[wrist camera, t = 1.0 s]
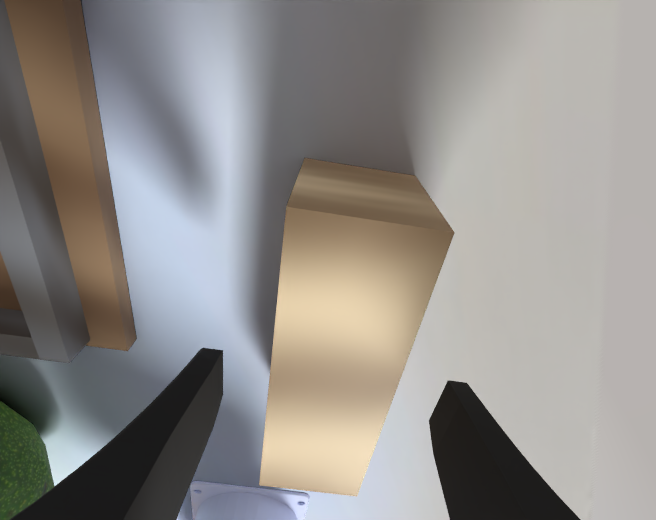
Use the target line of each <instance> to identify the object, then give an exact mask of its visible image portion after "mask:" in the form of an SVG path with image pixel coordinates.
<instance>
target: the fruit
mask: <svg viewBox="0 0 656 520" xmlns="http://www.w3.org/2000/svg"><path fill="white" fill-rule="evenodd" d="M53 487H54V483H53V478H52V474H51V469H50V465H49V460H48V455H47V451H46V446H45V444H44V442H43V440H42V439H41V437H40V435H39V434H38V432H37V430H36V429H35V427H34V425H33V424H32V423H31V422H29V421H28V420H27V419H25V418H24V417H22V416H21V415H20V414H18V413H17V412H15V411H14V410H13V409H11V408H10V407H8V406H7V405H6V404H4V403H3V402H1V401H0V520H9V519H11V518H12V517H14V516H15V515H16V514H18V513H19V512H21V511H22V510H24V509H25V508H27V507H28V506H29V505H31V504H32V503H33V502H35V501H36V500H37V499H39V498H40V497H41V496H43V495H44V494H46V493H47V492H48V491H50V490H51V489H52V488H53Z"/></svg>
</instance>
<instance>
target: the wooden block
mask: <svg viewBox="0 0 656 520" xmlns="http://www.w3.org/2000/svg"><path fill="white" fill-rule="evenodd" d="M453 235H454V231H453V230H452V228H451V227H450V225H449V224H448V222H447V221H446V220H445V218H444V217H443V215H442V214H441V212H440V211H439V209H438V208H437V206H436V205H435V204H434V202H433V201H432V199H431V198H430V196H429V195H428V193H427V192H426V190H425V189H424V188H423V186H422V185H421V183H420V182H419V180H418V179H417V177H416V176H414V175H408V174H402V173H395V172H389V171H383V170H377V169H371V168H364V167H358V166H352V165H346V164H340V163H333V162H327V161H321V160H315V159H309V158H304V161H303V164H302V166H301V169H300V171H299V174H298V177H297V179H296V182H295V185H294V187H293V190H292V193H291V195H290V198H289V201H288V203H287V206H286V214H285V224H284V235H283V245H282V255H281V265H280V276H279V286H278V296H277V307H276V317H275V327H274V338H273V348H272V358H271V368H270V379H269V389H268V399H267V410H266V420H265V430H264V441H263V451H262V461H261V471H260V482H259V485H261V486H270V487H279V488H288V489H297V490H305V491H314V492H323V493H332V494H341V495H350V496H357V495H358V492H359V490H360V487H361V484H362V481H363V479H364V476H365V473H366V471H367V468H368V465H369V462H370V460H371V457H372V454H373V452H374V449H375V446H376V443H377V441H378V438H379V435H380V433H381V430H382V427H383V425H384V422H385V419H386V416H387V414H388V411H389V408H390V406H391V403H392V400H393V397H394V395H395V392H396V389H397V387H398V384H399V381H400V378H401V376H402V373H403V370H404V368H405V365H406V362H407V360H408V357H409V354H410V351H411V349H412V346H413V343H414V341H415V338H416V335H417V332H418V330H419V327H420V324H421V322H422V319H423V316H424V313H425V311H426V308H427V305H428V303H429V300H430V297H431V295H432V292H433V289H434V286H435V284H436V281H437V278H438V276H439V273H440V270H441V267H442V265H443V262H444V259H445V257H446V254H447V251H448V248H449V246H450V243H451V240H452V238H453Z"/></svg>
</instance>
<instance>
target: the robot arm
mask: <svg viewBox="0 0 656 520" xmlns="http://www.w3.org/2000/svg"><path fill="white" fill-rule="evenodd" d="M222 396H223V350H215V349H208V348H202V349H201V350H199V351H198V353H197V354H196V355H195V356H194V357H193V359H192V360H191V361H190V362H189V363H188V364H187V366H186V367H185V368H184V369H183V370H182V371H181V372H180V373H179V375H178V376H177V377H176V378H175V379H174V380H173V381H172V382H171V383H170V384H169V385H168V386H167V387H166V388H165V389H164V390H163V391H162V392H161V394H160V395H159V396H158V397H157V398H156V399H155V400H154V401H153V402H152V403H151V404H150V405H149V406H148V407H147V408H146V409H145V410H144V411H143V412H142V413H140V414H139V415H138V416H137V417H136V418H135V419H134V420H133V421H132V422H131V423H130V424H129V425H128V426H127V427H126V428H124V429H123V430H122V431H121V432H120V433H119V434H118V435H117V436H116V437H115V438H113V439H112V440H111V441H110V442H109V443H108V444H107V445H105V446H104V447H103V448H102V449H101V450H100V451H98V452H97V453H96V454H95V455H94V456H92V457H91V458H90V459H89V460H88V461H86V462H85V463H84V464H83V465H82V466H80V467H79V468H78V469H77V470H75V471H74V472H73V473H71V474H70V475H69V476H68V477H66V478H65V479H64V480H62V481H61V482H60V483H59V484H57V485H56V486H55V487H53V488H52V489H51V490H50V491H48V492H47V493H46V494H44V495H43V496H41V497H40V498H39V499H37V500H36V501H35V502H33V503H32V504H31V505H29V506H28V507H27V508H25V509H24V510H22V511H21V512H19V513H18V514H16V515H15V516H14V517H12V518H11V519H9V520H176V519H177V516H178V514H179V511H180V508H181V506H182V503H183V501H184V498H185V496H186V493H187V491H188V488H189V486H190V491H191V503H192V515H193V520H305V516H306V512H307V507H308V503H309V498H310V497H309V495H308V494H306V493H300V492H291V491H282V490H273V489H264V488H256V487H247V486H238V485H229V484H220V483H212V482H203V481H193V482H191V481H192V479H193V476H194V474H195V471H196V469H197V466H198V464H199V461H200V459H201V457H202V454H203V452H204V449H205V447H206V444H207V442H208V439H209V437H210V434H211V432H212V429H213V427H214V423H215V420H216V417H217V413H218V410H219V406H220V403H221V399H222ZM429 424H430V432H431V440H432V447H433V454H434V458H435V462H436V466H437V470H438V474H439V478H440V482H441V486H442V490H443V494H444V498H445V502H446V505H447V509H448V513H449V517H450V520H580V519H579V518H578V517H577V516H576V514H575V513H574V512H573V511H572V510H571V509H570V508H569V507H568V506H567V505H566V504H565V503H564V502H563V501H562V500H561V499H560V498H559V496H558V495H557V494H556V493H555V492H554V491H553V490H552V489H551V488H550V486H549V485H548V484H547V483H546V482H545V481H544V479H543V478H542V477H541V476H540V475H539V474H538V473H537V471H536V470H535V469H534V468H533V467H532V466H531V464H530V463H529V462H528V461H527V460H526V458H525V457H524V456H523V455H522V454H521V452H520V451H519V450H518V449H517V447H516V446H515V445H514V444H513V442H512V441H511V440H510V439H509V437H508V436H507V435H506V434H505V432H504V431H503V430H502V428H501V427H500V426H499V425H498V423H497V422H496V421H495V419H494V418H493V417H492V415H491V414H490V413H489V412H488V410H487V409H486V408H485V406H484V405H483V404H482V402H481V401H480V400H479V398H478V397H477V396H476V394H475V393H474V392H473V390H472V389H471V388H470V387H469V385H468V384H467V383H463V382H456V381H448V382H447V384H446V386H445V388H444V390H443V392H442V394H441V397H440V399H439V401H438V403H437V405H436V407H435V409H434V411H433V413H432V415H431V418H430V420H429ZM190 483H191V485H190ZM197 490H200V491H197ZM299 501H302V502H303V503H301V502H299Z"/></svg>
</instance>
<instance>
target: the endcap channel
mask: <svg viewBox="0 0 656 520" xmlns="http://www.w3.org/2000/svg"><path fill="white" fill-rule="evenodd" d="M135 340H136V333H135V327H134V320H133V314H132V308H131V302H130V296H129V290H128V284H127V278H126V272H125V266H124V260H123V254H122V248H121V242H120V236H119V230H118V224H117V217H116V211H115V205H114V199H113V193H112V187H111V181H110V175H109V169H108V163H107V157H106V151H105V145H104V139H103V133H102V127H101V121H100V114H99V108H98V102H97V96H96V90H95V84H94V78H93V72H92V66H91V60H90V54H89V48H88V42H87V36H86V30H85V24H84V18H83V11H82V5H81V0H0V354H1V355H9V356H17V357H25V358H33V359H40V360H48V361H56V362H64V363H70V362H71V361H72V360H73V359H74V358H75V356H76V355H77V354H78V353H79V352H80V351H81V350H82V349H83V348H84V347H85V345H86V346H93V347H101V348H109V349H116V350H124V351H128V350H129V348H130V347H131V346H132V344H133V343H134V342H135Z"/></svg>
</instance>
